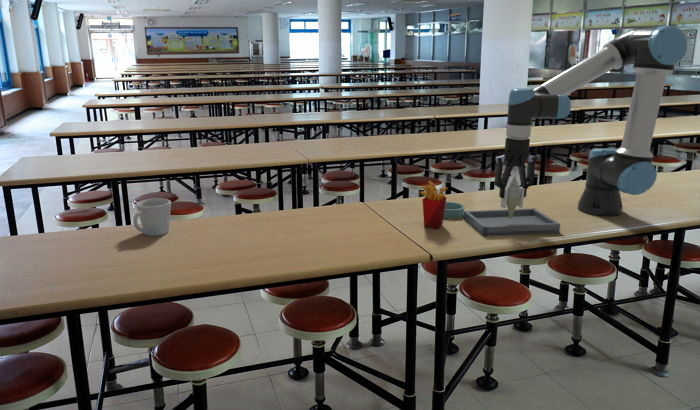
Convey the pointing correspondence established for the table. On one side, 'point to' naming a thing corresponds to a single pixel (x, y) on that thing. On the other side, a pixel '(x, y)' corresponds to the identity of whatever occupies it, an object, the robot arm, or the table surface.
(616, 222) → the table surface
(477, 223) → the tray
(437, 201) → the french fries
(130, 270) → the table surface
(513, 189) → the soft serve swirl
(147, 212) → the mug
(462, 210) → the teal ring
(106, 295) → the table surface
